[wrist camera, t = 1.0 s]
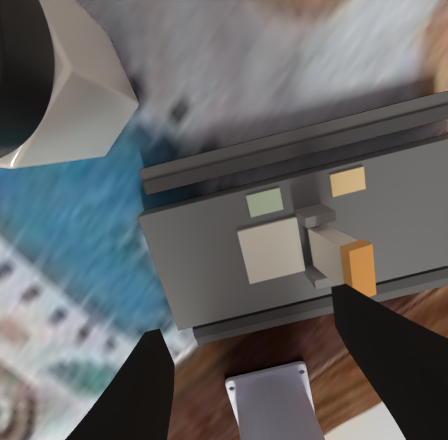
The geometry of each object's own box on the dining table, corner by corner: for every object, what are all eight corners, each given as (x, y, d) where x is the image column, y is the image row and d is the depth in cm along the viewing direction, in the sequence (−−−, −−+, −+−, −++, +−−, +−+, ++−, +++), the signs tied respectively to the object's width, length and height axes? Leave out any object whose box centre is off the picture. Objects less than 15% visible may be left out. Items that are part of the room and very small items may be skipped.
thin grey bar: (434, 276, 23) (450, 286, 22) (198, 333, 24) (198, 346, 22) (434, 259, 23) (450, 267, 21) (193, 317, 23) (192, 330, 22)
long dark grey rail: (434, 119, 19) (453, 117, 18) (151, 191, 20) (146, 195, 18) (434, 93, 19) (454, 89, 17) (143, 167, 19) (138, 170, 18)
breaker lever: (324, 259, 20) (376, 296, 15) (308, 264, 20) (354, 303, 15) (319, 218, 19) (372, 242, 14) (301, 223, 19) (348, 250, 14)
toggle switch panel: (493, 239, 22) (554, 260, 18) (181, 314, 23) (174, 351, 19) (501, 119, 20) (577, 114, 16) (144, 210, 20) (128, 226, 16)
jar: (143, 37, 17) (1, -188, 5) (136, 163, 19) (26, 193, 8) (-3, 9, 16) (-535, -324, 5) (8, 144, 18) (-331, 147, 7)
